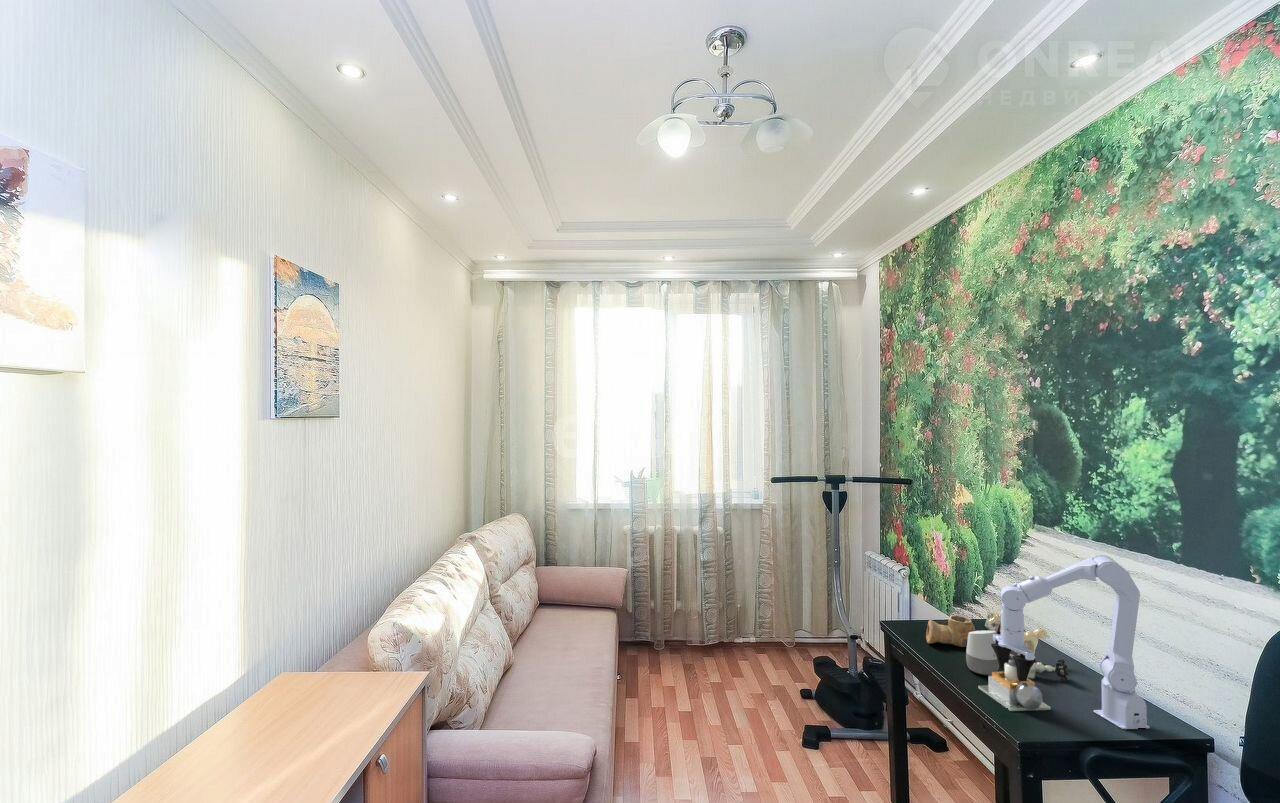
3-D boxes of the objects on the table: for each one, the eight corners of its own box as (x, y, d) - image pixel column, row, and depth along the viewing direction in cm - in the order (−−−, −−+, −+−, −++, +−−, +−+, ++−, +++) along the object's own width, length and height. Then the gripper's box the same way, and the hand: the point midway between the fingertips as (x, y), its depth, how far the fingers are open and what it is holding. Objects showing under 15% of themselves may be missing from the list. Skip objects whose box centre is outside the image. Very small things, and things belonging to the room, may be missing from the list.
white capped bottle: (1025, 685, 171) (1025, 663, 171) (1011, 685, 170) (1011, 664, 170) (1015, 678, 175) (1014, 657, 175) (1001, 679, 175) (1000, 658, 175)
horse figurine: (1047, 659, 201) (1046, 609, 201) (1054, 664, 197) (1053, 613, 197) (985, 656, 203) (985, 606, 204) (991, 660, 199) (990, 610, 200)
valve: (1024, 679, 185) (1068, 685, 182) (1024, 658, 186) (1068, 663, 182) (1017, 671, 192) (1060, 676, 188) (1017, 650, 192) (1059, 655, 188)
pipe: (922, 638, 219) (922, 611, 220) (969, 642, 216) (969, 615, 216) (929, 647, 210) (929, 620, 211) (978, 651, 207) (978, 623, 208)
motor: (1051, 710, 166) (1051, 686, 166) (1012, 712, 165) (1011, 687, 165) (1015, 687, 180) (1015, 664, 180) (978, 688, 179) (978, 665, 179)
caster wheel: (1027, 645, 220) (1003, 642, 219) (1006, 628, 231) (983, 625, 230) (1032, 629, 219) (1008, 626, 218) (1010, 613, 230) (988, 610, 229)
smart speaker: (980, 664, 197) (980, 622, 197) (1005, 675, 188) (1005, 632, 188) (959, 668, 193) (959, 625, 194) (984, 680, 185) (984, 635, 185)
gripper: (983, 620, 180) (983, 664, 180) (1017, 638, 166) (1017, 686, 165) (1005, 619, 181) (1005, 664, 180) (1040, 637, 166) (1041, 685, 166)
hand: (1012, 674), depth 173 cm, fingers open, 7 cm apart
